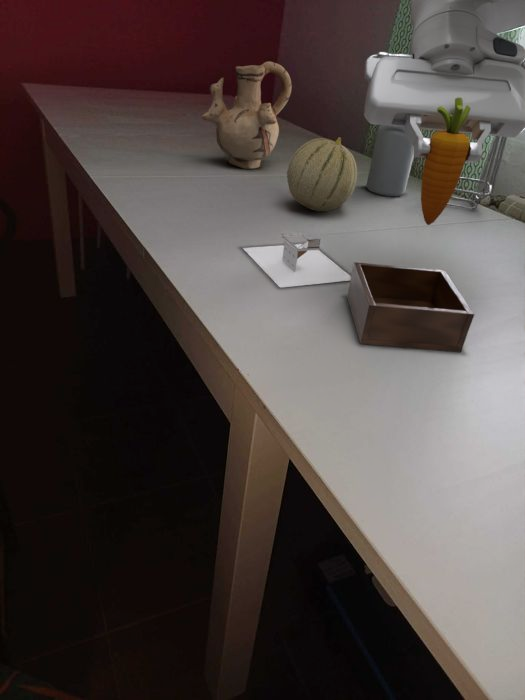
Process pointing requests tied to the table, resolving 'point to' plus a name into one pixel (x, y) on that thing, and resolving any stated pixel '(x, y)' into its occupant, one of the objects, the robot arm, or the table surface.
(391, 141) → the water bottle
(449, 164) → the carrot
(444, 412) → the table surface
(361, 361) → the table surface
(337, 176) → the cantaloupe
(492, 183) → the metal wire rack
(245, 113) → the ceramic vessel
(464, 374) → the table surface
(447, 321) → the basket
